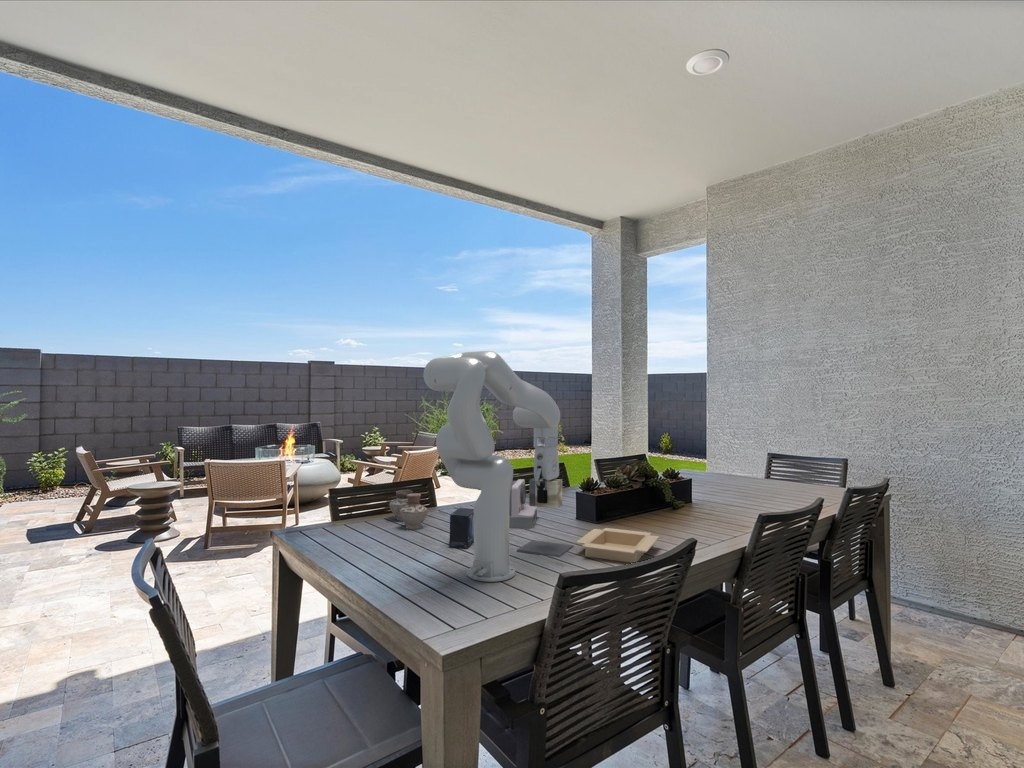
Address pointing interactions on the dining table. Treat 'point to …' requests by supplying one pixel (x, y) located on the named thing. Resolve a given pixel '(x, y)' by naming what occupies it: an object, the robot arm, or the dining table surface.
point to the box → (552, 494)
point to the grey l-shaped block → (520, 507)
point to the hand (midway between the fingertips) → (545, 500)
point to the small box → (461, 528)
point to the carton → (617, 544)
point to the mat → (545, 548)
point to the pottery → (408, 509)
